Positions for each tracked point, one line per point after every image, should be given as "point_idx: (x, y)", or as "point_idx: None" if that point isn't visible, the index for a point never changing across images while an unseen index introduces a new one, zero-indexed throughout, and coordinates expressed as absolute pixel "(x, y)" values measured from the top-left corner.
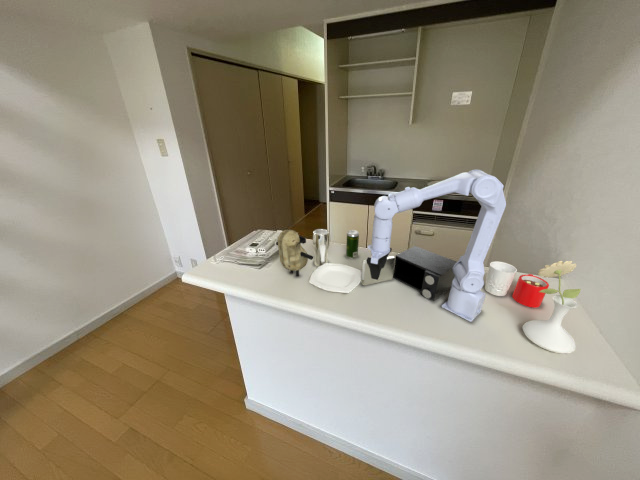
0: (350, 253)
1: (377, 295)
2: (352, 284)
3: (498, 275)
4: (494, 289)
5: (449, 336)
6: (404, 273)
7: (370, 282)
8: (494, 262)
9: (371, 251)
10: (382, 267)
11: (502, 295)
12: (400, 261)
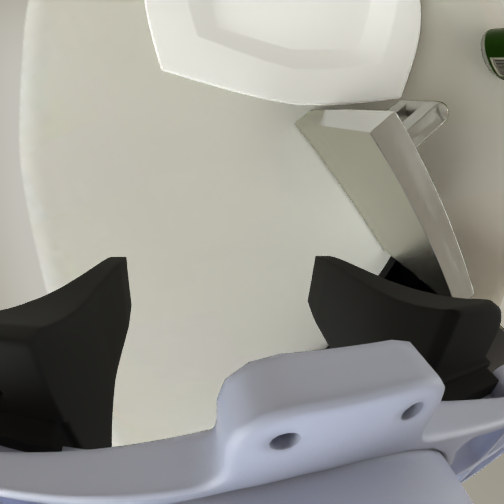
0: (499, 44)
1: (236, 211)
2: (249, 67)
3: None
4: None
5: (132, 427)
6: (422, 288)
7: (324, 158)
8: None
9: (32, 497)
10: (311, 299)
11: None
12: None
